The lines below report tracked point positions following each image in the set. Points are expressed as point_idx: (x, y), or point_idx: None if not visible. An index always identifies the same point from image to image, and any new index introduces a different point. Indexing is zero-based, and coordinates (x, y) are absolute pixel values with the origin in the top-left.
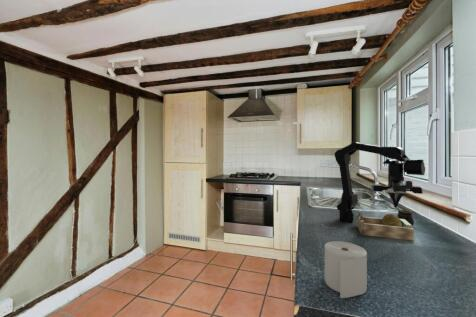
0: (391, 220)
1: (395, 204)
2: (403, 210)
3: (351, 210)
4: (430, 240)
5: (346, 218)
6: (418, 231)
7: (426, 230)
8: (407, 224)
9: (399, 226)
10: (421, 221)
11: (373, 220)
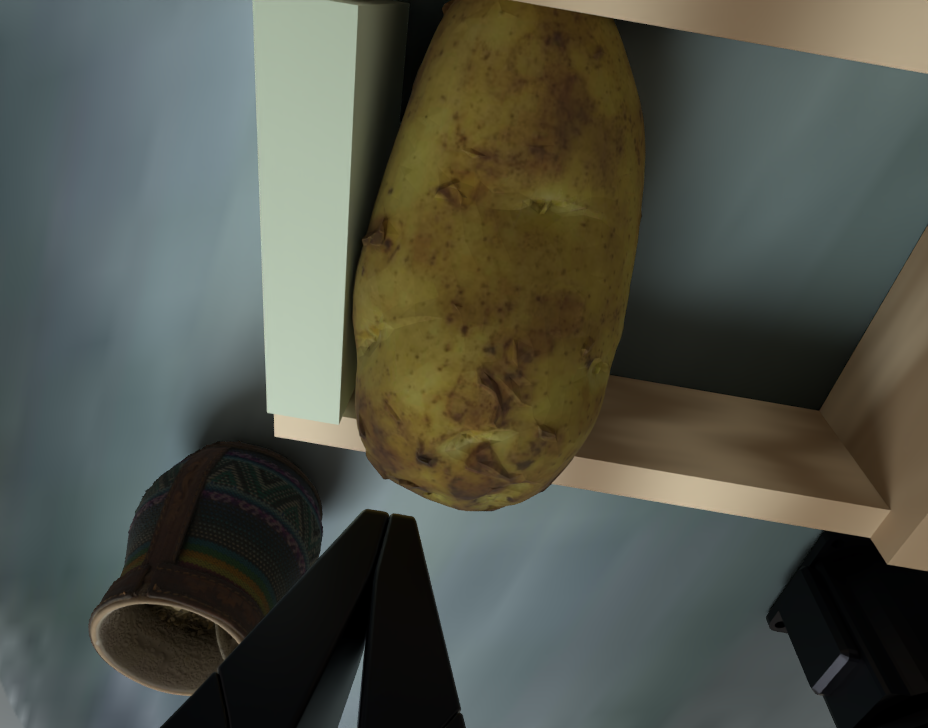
0: (546, 255)
1: (382, 569)
2: (178, 685)
3: (881, 707)
4: (95, 3)
5: (919, 583)
6: (159, 357)
7: (70, 404)
8: (324, 42)
9: (480, 51)
10: (67, 634)
11: (687, 451)
